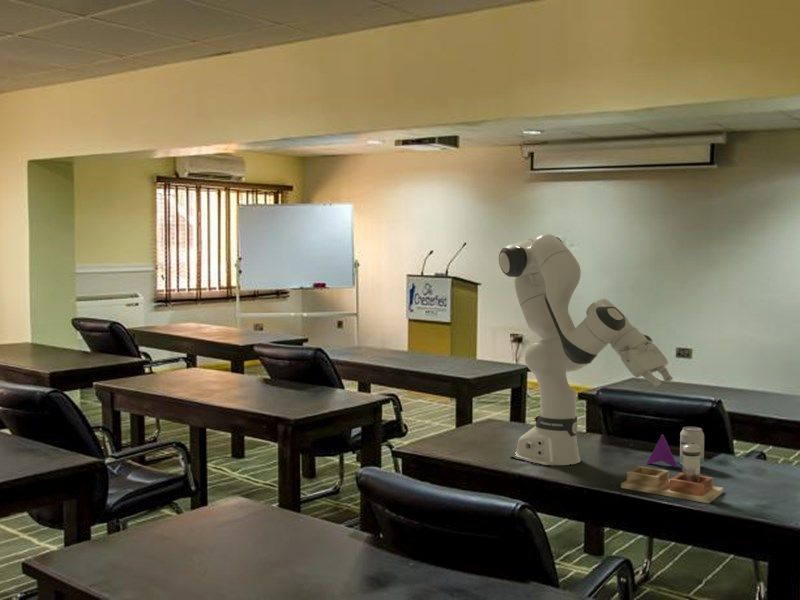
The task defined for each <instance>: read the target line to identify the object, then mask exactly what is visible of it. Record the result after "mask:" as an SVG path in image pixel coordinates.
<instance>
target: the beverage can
mask: <svg viewBox="0 0 800 600" xmlns="http://www.w3.org/2000/svg"><path fill="white" fill-rule="evenodd" d="M704 433H705V432H704V431H703V429H702V428H701V427H699V426H683V427H682V430H681V431H680V434H679V436H680V438H679V442H680V443H679V464H680V465H681V466H683V454H682V450H683V445H684V444H696V445H699V446H700V468H702V467H703V466H704V465H705V434H704Z"/></svg>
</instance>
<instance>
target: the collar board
mask: <svg viewBox="0 0 800 600" xmlns="http://www.w3.org/2000/svg"><path fill="white" fill-rule="evenodd" d="M620 488H621V489H627V490H631V491H632V490H633V491H637V492H643V493H647V494H648V493H649V494H655V495H661V496H666V497H670V498H676V499H681V500H688V501H693V502H700V503H703V504H710V503H712V502H713V501H714V500H716V498H718V497H719V496H720V495H722V494H723V493H724V487H720V486H715V485H714V478H713V477H712V476H711V477H710V476H703V475H700V483H696V482H690V481H684V480H683V472H679V473H678V474H676V475H675V476H673V477H671V478H670V470H668V469H667V470H666V469H661V468H654V467H647V466H641V465H638V466H636V467H634V468H633V469H631V470H629V471H627V472H626V480H624V481H623V482H621V483H620Z"/></svg>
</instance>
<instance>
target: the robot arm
mask: <svg viewBox="0 0 800 600" xmlns="http://www.w3.org/2000/svg"><path fill="white" fill-rule="evenodd" d="M498 264H499V267H500V269H501V271H502V273H503V274H504V275H505V276H507V277H509V278H510V277H511V278H514V281H513V282H514V288H515V292H516V297H517V299H518V300H517V301H518V303H519V305H520V306H519V307H520V308H521V311H522V313H523V316H524V319H525V321H526V324H527V326H528V328H529V330H530V331H531V332H533V333H535V334H536V335H537V336H538V337H539V338H540V339H541V340H539V341H536V342H533V343H532V344H530V345H529V346H528V347H527V348H526V349H525V353H524V361H525V365H526V367H527V368H528V370H530V372H532V373H533V375H534V377H535V379H536V382H537V384H538V389H539V394H540V395H539V399H540V402H539V403H540V414H539V415H537V416H536V417H533V418H532V419H533V423H535V426H533V427H532V428H530V429H529V430H528V431H526V432H525V433H524V434H522V435H521V436H520V437H519V438H518V442H517V445H516V450H517V451H516V452H515V454H516V455H515V456H517V457H520V458H524V459H527V460H530V461H534V462H537V463H541V464H545V465H550V464H551V466H570V464H571V465H576V464H579V463H581V460H582V459H581V455H580V453H579V452H580V451H579V447H578V439H577V434H578V417H577V416H576V414H577V394H576V390H575V389H574V388H573V387H572V386H571V385H570V384H569V381H568V378H567V373H569V372H570V373H571V372H575V371H578V370H580V369H583V368H584V367H586V366H587V365H589V364H591V363H592V362H593V361H594V360H595V358H596V357H597V356H598V354H599V353H601V351H603V350H604V349H605V348H606V347H608V345H609V344H610V347H611V348H612V349H613V351H615V353H617V355H618V356H619V357H620V359H621V361H622V364H624V366H625V367H626V368H627V370H628V371H629V372H630V373H631V375H632V376H634V377H635V378H640V377H643V379H644V380H646V381H648V382H649V383H651V385H653V387H654V388H655V387H658V386H660V385H661V384H662V381H661V380H660V379H659V378H658V377H656V376H655V375H654V374H653V373H656V372H658V374H660V375H661V376H662V377H663V380H664V381H665V383H667V384H668V383H671V381H672V380H673V379H674V378H673V376H672V375H671V374H670V372H669V370H668V369H667V367H666V366H667V365H668V364H669V362H668V359H667V358H666V356H665V355H664V354H663V352H662V351H661V349H659V347H658V346H657V345H656V344H654V343H653V342H654V340H653V339H652V337H651V336H649V335H646V334H643V333H642V332H640V331H639V329H638V328H637V327H636V326H634V325H633V324H632V323H630V322H629V319H628V317H627V316H626V315H625V314H624V313H623V312H622V311H621V310H620V309H619V308H618V307H617V306H616V305H615V304H614V303H612V302H611V301H610V300H608V299H606V298H599V299H597V300H595V301H593V302H592V303H591V304H590V305H589V306H588V307H587V309H586V311H585V315H586V317H584V319H583V320H581V322H580V323H579V324H577V326H576V327H575V324H574V322H573V320H572V318H571V315H570V313H569V305H570V302H571V298H572V296H573V294H574V292H575V290H576V288H577V287H578V285H579V282H580V279H581V274H582V273H581V272H582V271H581V266H580V264H579V262H578V261H577V258H576V257H575V256H574V254H573V253H572V252H571V250H570V249H569V248H568V247H567V246H566V245H565V244H564V242H563V240H562V239H561V238H559V237H558V236H556V235H553V234H551V233H545V234H542V235H539V236H538V237H534V238H528V239H527V240H522V241H519V242H516V243H510V244H507V245H506V246H504V247H502V249H501V250H500V252H499V255H498ZM555 464H556V465H555Z"/></svg>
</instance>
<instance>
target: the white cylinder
mask: <svg viewBox="0 0 800 600" xmlns="http://www.w3.org/2000/svg"><path fill="white" fill-rule="evenodd" d="M682 454H683V465H682V473H683V480H684V481H690V482H696V483H700V476H701V467H700V446H699V445H696V444H684V445H683V450H682Z"/></svg>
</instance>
